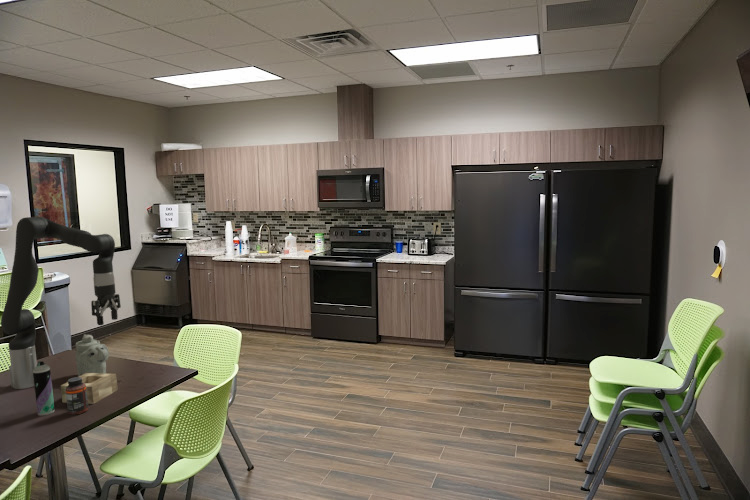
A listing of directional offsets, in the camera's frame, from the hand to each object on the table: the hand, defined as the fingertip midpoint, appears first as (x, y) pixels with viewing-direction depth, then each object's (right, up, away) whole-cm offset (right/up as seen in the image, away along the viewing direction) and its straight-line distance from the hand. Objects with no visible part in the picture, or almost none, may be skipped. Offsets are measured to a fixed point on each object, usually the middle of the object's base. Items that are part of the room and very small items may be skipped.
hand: (107, 322), depth 209 cm
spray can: (-15, -32, -17) cm, 39 cm away
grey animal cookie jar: (-17, -28, +21) cm, 39 cm away
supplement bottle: (-2, -32, -17) cm, 36 cm away
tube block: (-6, -30, -2) cm, 30 cm away
